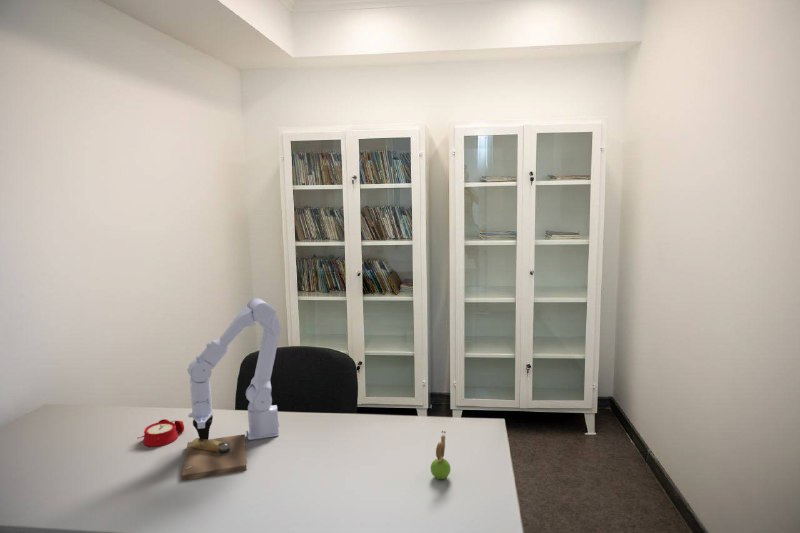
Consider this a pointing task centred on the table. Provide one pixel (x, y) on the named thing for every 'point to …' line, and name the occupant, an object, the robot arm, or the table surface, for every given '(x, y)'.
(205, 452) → the plate
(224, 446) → the tan wooden bar
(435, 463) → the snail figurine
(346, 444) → the table surface
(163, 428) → the alarm clock
